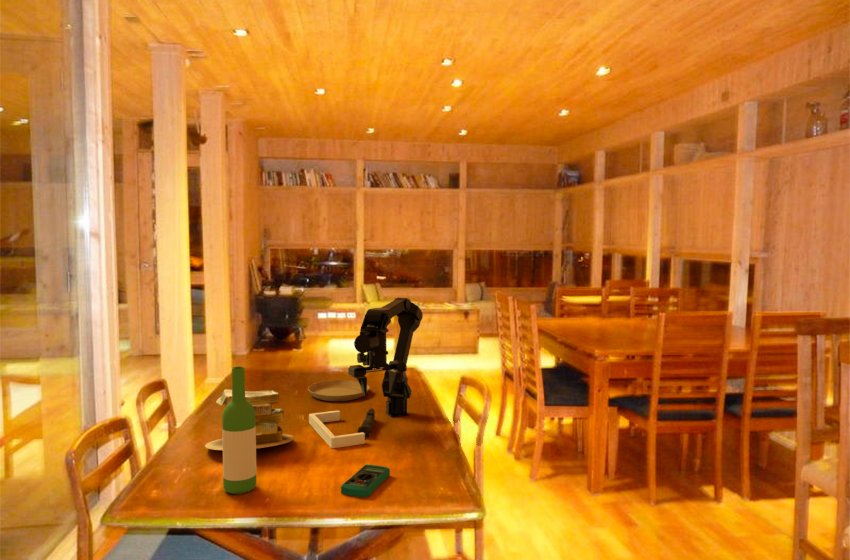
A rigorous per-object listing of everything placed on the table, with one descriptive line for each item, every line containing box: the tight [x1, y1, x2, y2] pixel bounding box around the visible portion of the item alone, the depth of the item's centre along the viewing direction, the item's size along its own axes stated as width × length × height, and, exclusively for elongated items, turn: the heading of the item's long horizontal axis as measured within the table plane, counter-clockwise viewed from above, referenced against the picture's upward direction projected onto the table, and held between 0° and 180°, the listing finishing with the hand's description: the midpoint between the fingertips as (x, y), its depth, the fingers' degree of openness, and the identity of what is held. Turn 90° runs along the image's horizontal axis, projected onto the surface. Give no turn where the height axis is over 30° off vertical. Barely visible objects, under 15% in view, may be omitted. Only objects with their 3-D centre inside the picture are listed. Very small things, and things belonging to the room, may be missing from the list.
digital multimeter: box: [340, 464, 391, 498], centre depth 149 cm, size 7×15×3 cm, turn 161°
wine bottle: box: [221, 365, 257, 495], centre depth 145 cm, size 8×8×30 cm
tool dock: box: [308, 410, 366, 449], centre depth 189 cm, size 10×27×3 cm, turn 25°
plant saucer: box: [307, 379, 370, 402], centre depth 235 cm, size 24×24×3 cm
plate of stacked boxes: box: [204, 388, 295, 451], centre depth 175 cm, size 25×25×17 cm
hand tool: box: [357, 408, 376, 439], centre depth 193 cm, size 19×4×5 cm, turn 174°
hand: (378, 394), depth 196 cm, fingers open, 9 cm apart
